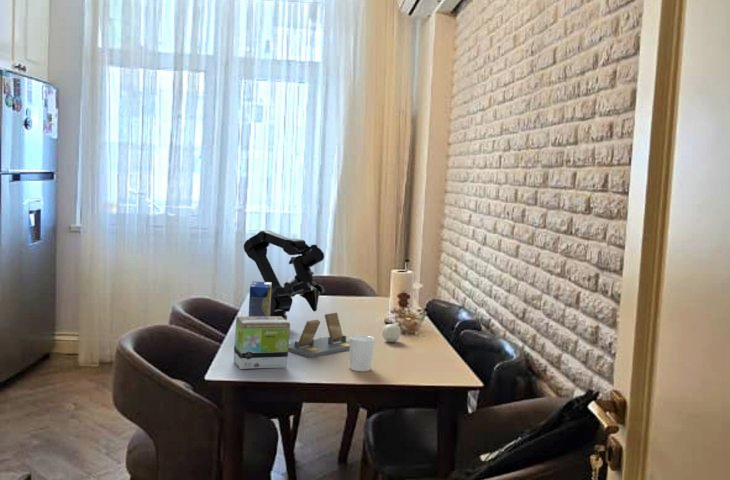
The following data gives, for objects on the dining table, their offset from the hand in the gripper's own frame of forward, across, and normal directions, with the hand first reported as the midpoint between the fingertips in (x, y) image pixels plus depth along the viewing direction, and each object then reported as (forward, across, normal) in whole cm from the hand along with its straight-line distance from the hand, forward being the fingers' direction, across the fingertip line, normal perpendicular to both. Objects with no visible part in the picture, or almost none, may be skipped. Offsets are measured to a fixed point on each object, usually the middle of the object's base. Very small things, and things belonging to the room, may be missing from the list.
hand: (315, 311), depth 259 cm
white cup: (+27, +25, +17) cm, 41 cm away
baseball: (+18, -14, +20) cm, 31 cm away
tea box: (+17, +37, -10) cm, 42 cm away
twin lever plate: (+15, +8, +1) cm, 17 cm away
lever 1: (+12, +15, -2) cm, 19 cm away
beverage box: (+9, +19, -17) cm, 27 cm away
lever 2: (+13, +3, +6) cm, 15 cm away
